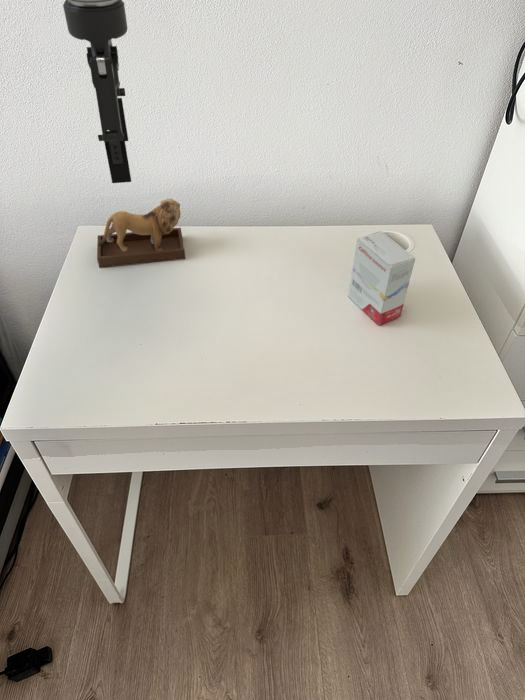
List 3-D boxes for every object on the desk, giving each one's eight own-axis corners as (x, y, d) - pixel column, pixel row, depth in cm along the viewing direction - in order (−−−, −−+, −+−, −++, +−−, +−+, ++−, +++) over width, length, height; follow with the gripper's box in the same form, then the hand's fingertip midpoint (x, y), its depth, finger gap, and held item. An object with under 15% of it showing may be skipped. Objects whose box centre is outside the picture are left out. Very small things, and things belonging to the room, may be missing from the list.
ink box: (401, 317, 87) (418, 257, 78) (377, 326, 85) (392, 267, 77) (369, 287, 92) (382, 228, 84) (346, 295, 90) (356, 237, 82)
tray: (99, 267, 95) (97, 258, 93) (99, 244, 99) (97, 235, 98) (185, 258, 97) (184, 249, 95) (181, 236, 102) (180, 227, 100)
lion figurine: (175, 236, 102) (177, 192, 96) (182, 251, 98) (184, 207, 92) (95, 240, 97) (92, 194, 91) (99, 257, 93) (96, 210, 87)
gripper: (66, -24, 75) (96, 127, 90) (55, 28, 58) (94, 203, 73) (121, -25, 76) (141, 124, 91) (126, 26, 59) (150, 199, 74)
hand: (120, 160), depth 82 cm, fingers open, 13 cm apart
